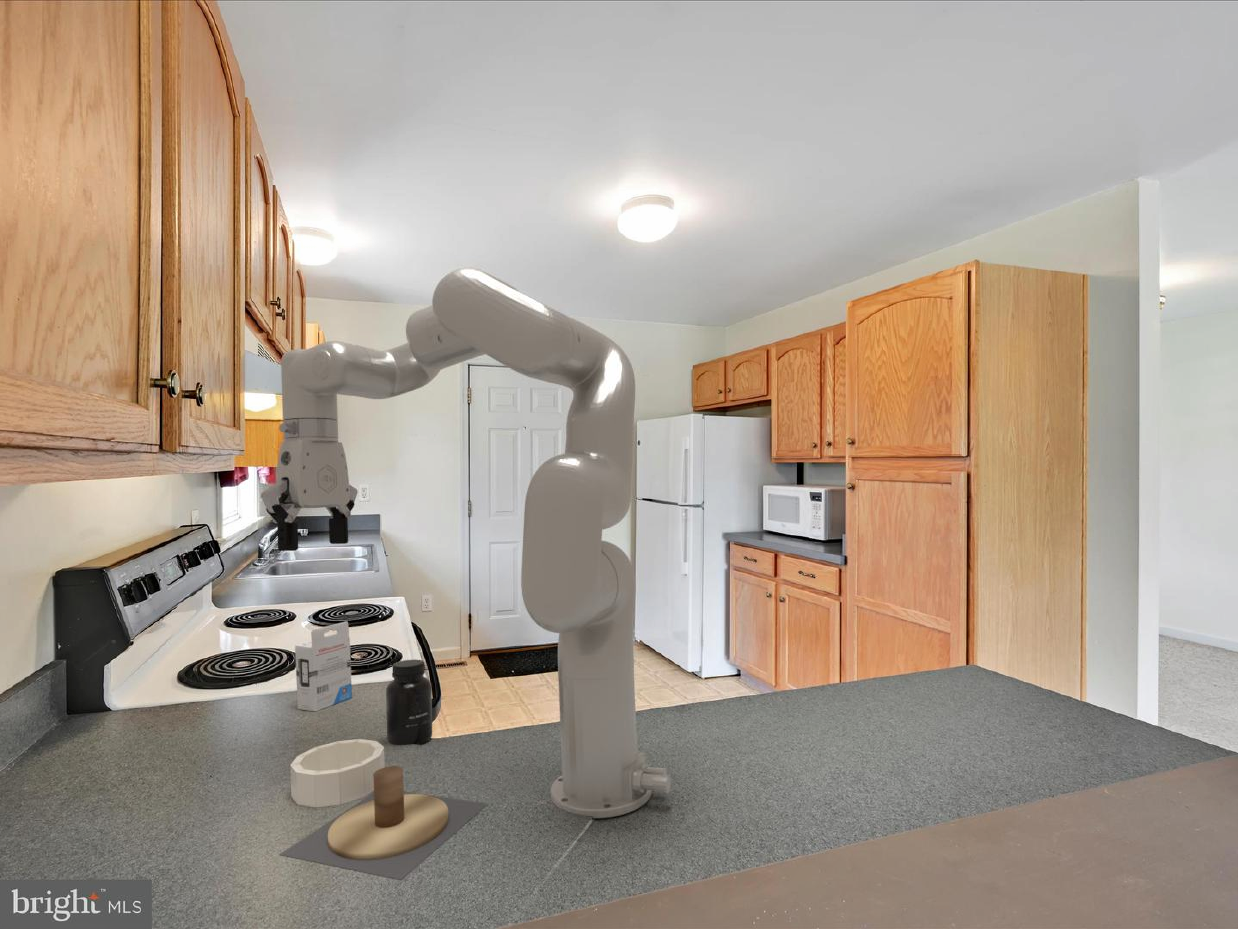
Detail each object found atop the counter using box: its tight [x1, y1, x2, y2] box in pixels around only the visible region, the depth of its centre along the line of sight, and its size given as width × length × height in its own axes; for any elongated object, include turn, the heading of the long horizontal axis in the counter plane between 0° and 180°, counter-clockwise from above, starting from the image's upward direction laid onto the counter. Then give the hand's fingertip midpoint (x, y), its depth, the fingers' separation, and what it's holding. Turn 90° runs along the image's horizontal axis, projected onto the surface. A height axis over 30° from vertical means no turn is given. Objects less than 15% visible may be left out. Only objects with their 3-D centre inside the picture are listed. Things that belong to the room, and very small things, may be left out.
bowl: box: [289, 738, 386, 808], centre depth 88 cm, size 11×11×4 cm
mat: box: [278, 790, 489, 881], centre depth 76 cm, size 16×16×1 cm
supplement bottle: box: [385, 659, 433, 746], centre depth 104 cm, size 7×7×12 cm
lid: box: [328, 765, 449, 860], centre depth 76 cm, size 13×13×6 cm
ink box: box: [294, 620, 353, 712], centre depth 124 cm, size 8×5×15 cm, turn 152°
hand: (314, 546), depth 100 cm, fingers open, 9 cm apart
